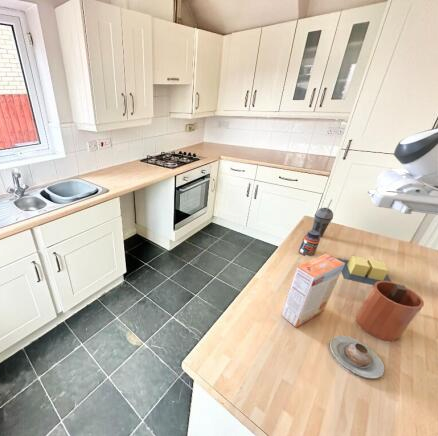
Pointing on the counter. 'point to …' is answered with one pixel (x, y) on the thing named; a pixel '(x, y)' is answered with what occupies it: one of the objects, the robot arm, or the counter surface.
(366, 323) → the crock
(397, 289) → the knife
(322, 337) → the counter surface
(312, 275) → the cracker box
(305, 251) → the supplement bottle
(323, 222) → the beverage cup
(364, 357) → the grey lid
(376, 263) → the butter
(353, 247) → the counter surface
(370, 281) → the butter dish
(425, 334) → the counter surface
